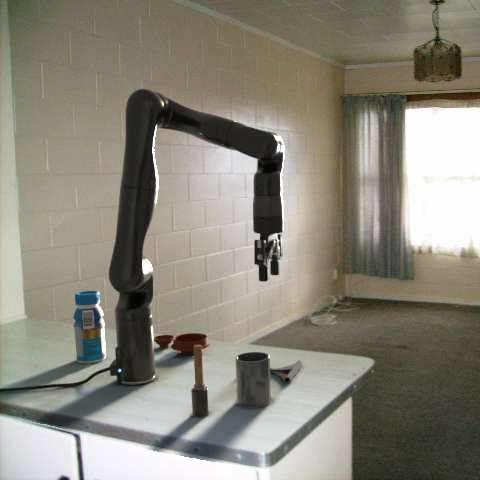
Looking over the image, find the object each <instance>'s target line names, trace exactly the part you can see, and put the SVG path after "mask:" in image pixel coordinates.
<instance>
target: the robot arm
mask: <svg viewBox="0 0 480 480" xmlns="http://www.w3.org/2000/svg"><path fill="white" fill-rule="evenodd" d="M157 129H160V130H161V129H163V130H169V131H175V132H181V133H183V134H187V135H191V136H192V137H195V138H197V139H199V140H202V141H203V142H206V143H208V144H211V145H215V146H218V147H221V148H224V149H227V150H230V151H235V152H238V153H241V154H243V155H246V156H248V157H250V158H253V159H255V160H256V161H257V163H256V172H255V173H254V175H253V179H252V181H253V183H252V184H253V199H252V200H253V201H252V220H253V221H252V226H253V227H252V231H253V233H255V234H259V239H254V241H253V242H254V244H253V247H254V252H253V254H254V255H253V256H254V258H253V260H254V262H253V263H254V265H257V267H258V281H259V282H264V283H266V282H268V281H269V272H270V276H279V275H280V261H281V258H283V256H284V251H283V234H282V233H284V230H285V226H284V224H285V223H284V220H285V219H284V218H285V217H284V216H285V215H284V200H283V180H282V176H283V168H284V160H285V144H284V141H283V139H282V137H281V136H280V134H277V133H276V132H273V131H267V130H262V129H259V128H255V127H251V126H247V125H245V124H244V123H242V122H239V121H236V120H234V119H230V118H227V117H223V116H220V115H216V114H211V113H207V112H203V111H199V110H195V109H192V108H189V107H187V106H185V105H182V104H180V103H178V102H176V101H174V100H172V99H171V98H169V97H167V96H165V95H164V94H162V93H160V92H157V91H153V90H151V89H147V88H139V89H136V90H134V91H133V92H132V93H131V94H130V95H129V97H128V99H127V100H126V105H125V143H124V153H123V162H122V172H121V179H120V186H119V195H118V208H117V209H118V210H117V218H116V219H117V220H116V230H115V231H116V233H115V239H114V245H113V250H112V255H111V259H110V263H109V267H108V280H109V283H110V286H111V287H112V289H114V290H115V291H116V292H117V293H118V299H117V303H116V305H115V306H114V316H115V331H116V332H115V333H116V347H115V348H114V353H115V358H114V359H113V361H112V362H111V363H110V364H109V366H107V367H104V368H102V369H100V370H96V371H95V372H93V373H91V374H90V375H89V376H88V377H86V378H85V379H82V380H80V381H76V382H69V383H68V382H67V383H50V384H40V385H29V386H17V387H3V388H0V393H8V392H9V393H10V392H23V391H33V390H45V389H52V388H69V387H71V388H72V387H77V386H81V385H84V384H87V383H88V382H91V380H92V379H93V378H95V377H96V376H98V375H101V374H104V373H105V372H109V376H110V377H116V384H117V385H124V386H140V385H145V384H148V383H151V382H154V381H155V379H156V378H157V375H156V364H155V363H156V362H155V347H154V346H155V345H154V342H155V341H154V339H153V338H154V326H153V305H154V299H155V296H154V295H155V294H154V293H155V292H154V271H153V266H152V264H151V262H150V260H149V259H148V258H147V257H146V256H144V247H145V242H146V237H147V234H148V231H149V229H150V226H151V225H152V221H153V218H154V215H155V212H156V209H157V202H158V196H159V195H158V194H159V183H160V181H159V174H158V173H159V172H158V168H157V164H156V159H155V152H154V151H155V149H154V147H155V137H156V131H157ZM269 264H270V265H269ZM269 267H270V269H269Z"/></svg>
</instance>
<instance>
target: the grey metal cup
mask: <svg viewBox="0 0 480 480" xmlns="http://www.w3.org/2000/svg"><path fill="white" fill-rule="evenodd" d="M234 361H235V385H236V404H237V406H239V407H241V408H244V409H245V408H246V409H258V408H263V407H266V406H268V405H270V404H271V402H272V388H271V385H272V384H271V374H270V368H271V355H270V354H269V353H266V352H264V351H263V352H262V351H249V352H243V353H240V354H238V355H236V356H235V360H234Z"/></svg>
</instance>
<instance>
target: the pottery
mask: <svg viewBox="0 0 480 480" xmlns="http://www.w3.org/2000/svg"><path fill="white" fill-rule="evenodd" d="M153 342H155V343H156V345H158V347H159V349H169V348H171V349H172V350H174V351H177V352H180V354H182V355H185V356H187V355H188V356H189V355H191V356H192V355H194V347H193V346H194V345H202V350H204V349H207V348H209V347H210V346H211V342H210V341H209V340H208V335H207V334H205V333H201V332H199V333H198V332H191V333H190V332H189V333H182V334H179V335H176V336H175V335H172V334H161V335H155V336H153ZM172 342H173V343H172ZM171 343H172V344H171Z"/></svg>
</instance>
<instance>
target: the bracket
mask: <svg viewBox="0 0 480 480" xmlns="http://www.w3.org/2000/svg"><path fill="white" fill-rule="evenodd" d="M302 365H303V361H302V360H297V361H296V362H295V363H293V364H290V365H286V366H281V367H270V375H276V376H278V377H280V378H281V379H282V381H284V383H285V384H290V383H291V381H292V380H293V379H294V377H295V375H296V374H297V373H298V371H299V370H300V368H301V367H302Z"/></svg>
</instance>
